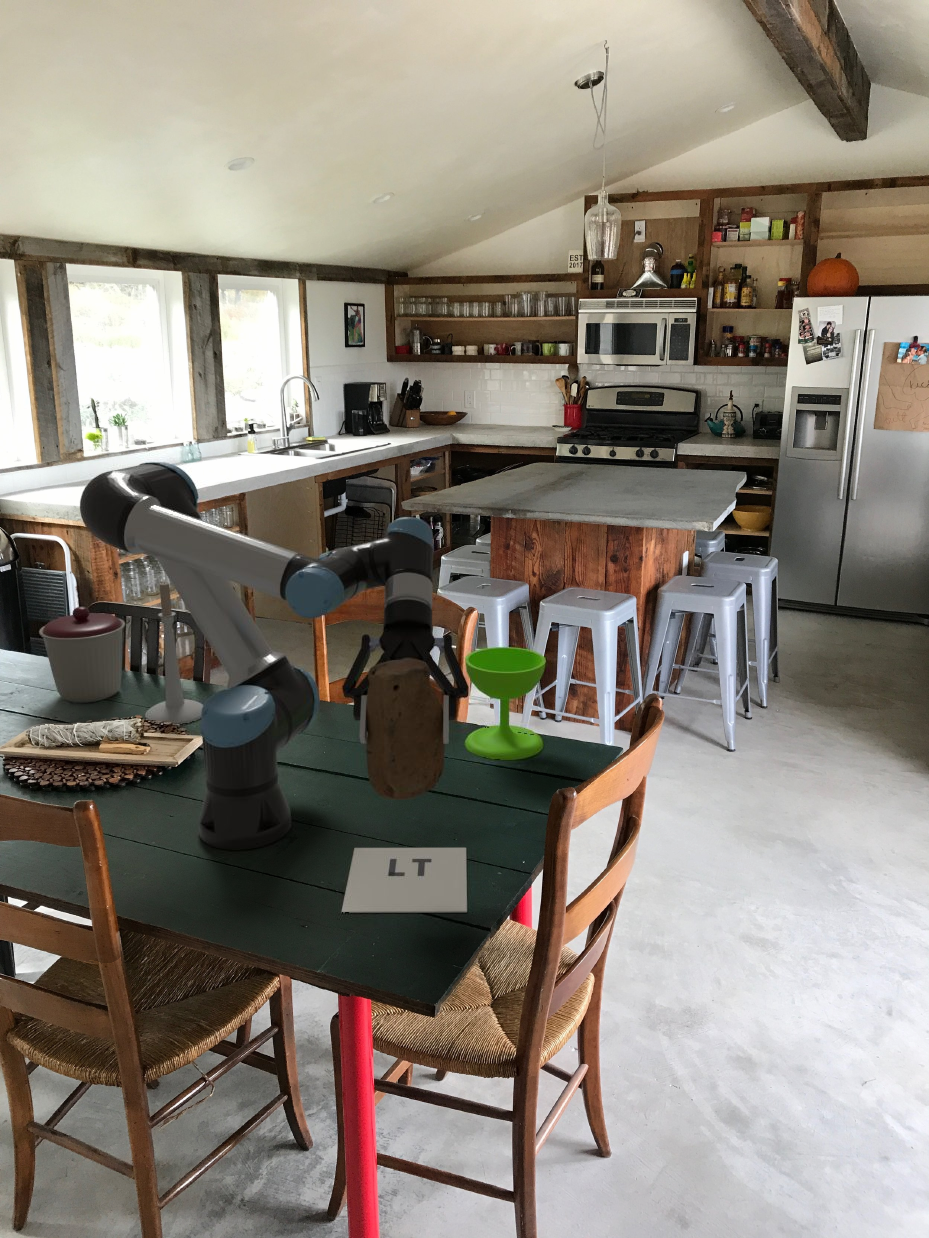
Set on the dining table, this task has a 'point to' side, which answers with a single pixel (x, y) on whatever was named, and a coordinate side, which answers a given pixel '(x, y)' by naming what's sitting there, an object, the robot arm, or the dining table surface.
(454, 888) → the tile
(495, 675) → the wineglass
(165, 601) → the candlestick
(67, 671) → the canister
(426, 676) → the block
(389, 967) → the dining table surface
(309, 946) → the dining table surface
